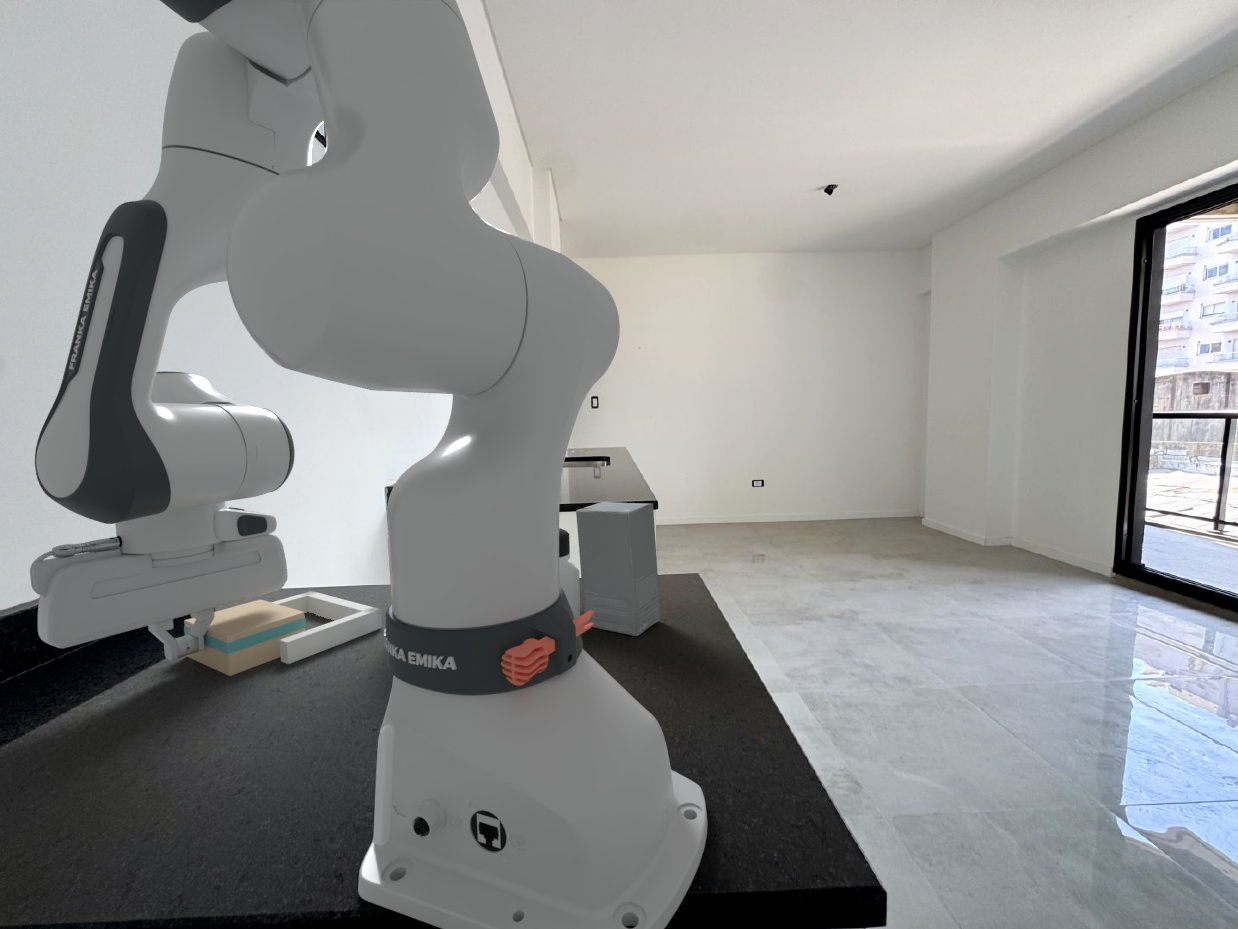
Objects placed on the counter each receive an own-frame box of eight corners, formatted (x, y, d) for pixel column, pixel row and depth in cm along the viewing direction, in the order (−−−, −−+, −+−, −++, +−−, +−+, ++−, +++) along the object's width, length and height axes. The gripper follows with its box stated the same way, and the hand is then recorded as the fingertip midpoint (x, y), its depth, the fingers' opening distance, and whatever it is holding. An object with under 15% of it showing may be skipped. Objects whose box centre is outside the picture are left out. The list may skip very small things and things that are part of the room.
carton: (307, 648, 61) (305, 612, 61) (229, 678, 54) (226, 637, 54) (263, 633, 66) (260, 599, 66) (186, 658, 59) (183, 620, 59)
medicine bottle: (569, 604, 74) (566, 523, 73) (581, 622, 67) (578, 532, 67) (519, 610, 72) (516, 527, 71) (526, 629, 65) (523, 537, 64)
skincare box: (661, 621, 67) (660, 502, 66) (633, 641, 61) (631, 510, 60) (608, 610, 72) (605, 498, 70) (577, 627, 66) (574, 505, 64)
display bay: (381, 627, 67) (380, 609, 66) (288, 664, 57) (286, 642, 56) (312, 607, 75) (311, 591, 74) (220, 636, 65) (218, 617, 64)
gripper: (38, 554, 43) (55, 709, 45) (290, 515, 61) (298, 627, 62) (17, 546, 47) (33, 691, 48) (263, 511, 64) (270, 618, 65)
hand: (185, 654), depth 55 cm, fingers closed
